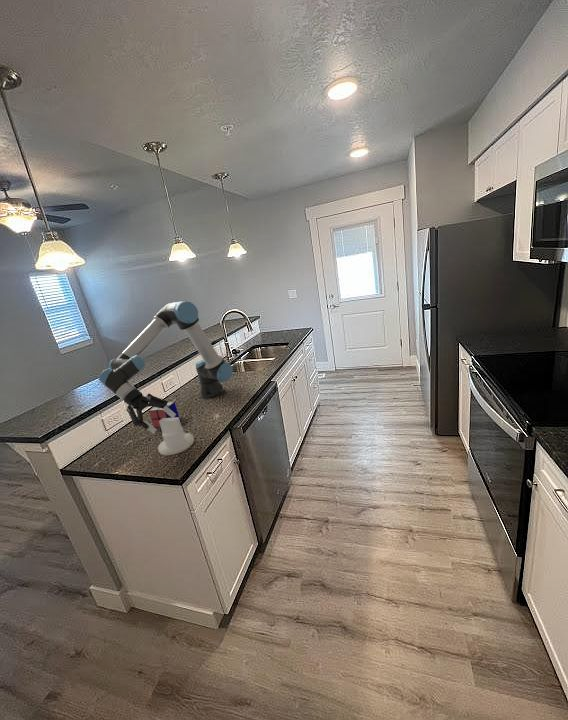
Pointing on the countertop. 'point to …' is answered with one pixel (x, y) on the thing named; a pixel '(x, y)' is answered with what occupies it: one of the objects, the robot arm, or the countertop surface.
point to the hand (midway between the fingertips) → (165, 423)
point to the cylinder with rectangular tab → (172, 432)
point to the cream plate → (172, 451)
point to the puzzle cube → (162, 413)
